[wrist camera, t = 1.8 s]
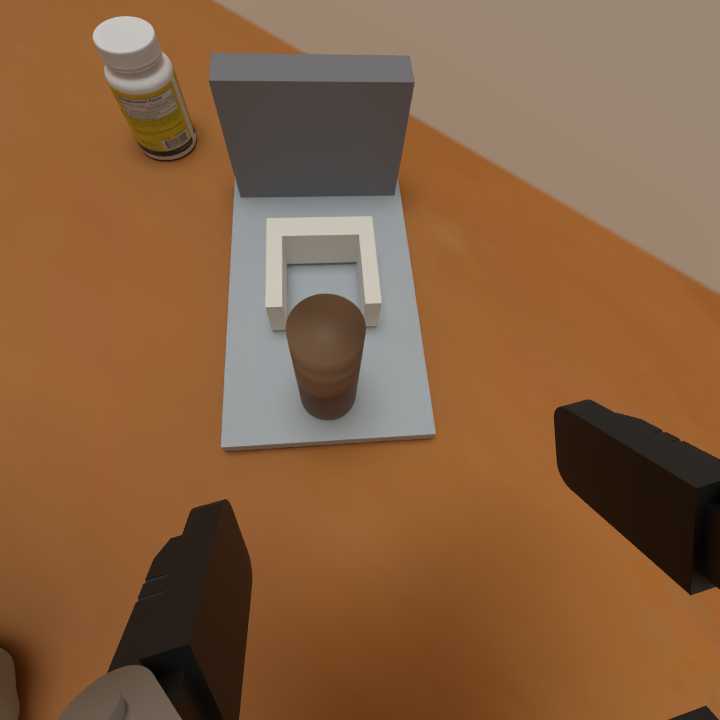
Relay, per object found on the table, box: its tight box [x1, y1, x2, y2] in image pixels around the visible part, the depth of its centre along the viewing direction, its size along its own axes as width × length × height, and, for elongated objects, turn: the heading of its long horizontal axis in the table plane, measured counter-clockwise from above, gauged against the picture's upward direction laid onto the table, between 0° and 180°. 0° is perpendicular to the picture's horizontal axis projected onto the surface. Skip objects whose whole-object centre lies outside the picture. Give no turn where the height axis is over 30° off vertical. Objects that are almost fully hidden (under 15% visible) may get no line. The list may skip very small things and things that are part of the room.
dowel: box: [286, 293, 366, 420], centre depth 22 cm, size 4×4×9 cm
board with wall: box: [209, 53, 436, 451], centre depth 26 cm, size 22×13×10 cm, turn 4°
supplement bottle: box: [93, 16, 196, 160], centre depth 32 cm, size 5×5×8 cm
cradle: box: [265, 216, 382, 330], centre depth 28 cm, size 7×7×3 cm
